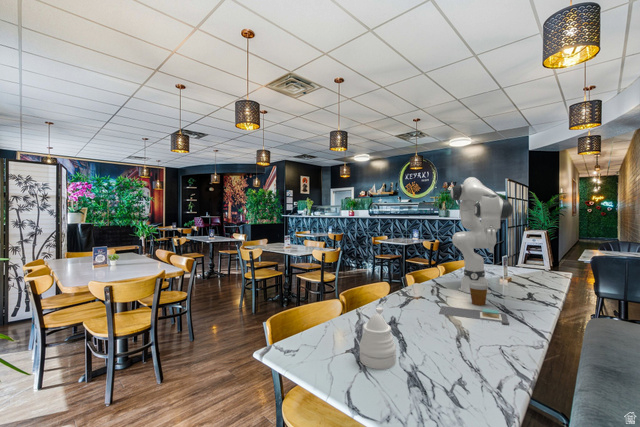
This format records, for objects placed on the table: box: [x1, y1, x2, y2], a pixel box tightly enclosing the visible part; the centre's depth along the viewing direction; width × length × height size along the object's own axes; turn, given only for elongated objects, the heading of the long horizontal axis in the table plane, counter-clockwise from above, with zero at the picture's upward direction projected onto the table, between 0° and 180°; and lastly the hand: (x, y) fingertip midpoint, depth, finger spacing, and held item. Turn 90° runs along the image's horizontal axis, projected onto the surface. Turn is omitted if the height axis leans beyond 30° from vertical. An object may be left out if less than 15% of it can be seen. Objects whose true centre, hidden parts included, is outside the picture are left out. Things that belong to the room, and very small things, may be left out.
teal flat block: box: [481, 308, 500, 319], centre depth 146 cm, size 7×5×2 cm
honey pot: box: [359, 306, 397, 370], centre depth 108 cm, size 13×13×18 cm
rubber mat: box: [438, 305, 510, 326], centre depth 150 cm, size 14×30×1 cm, turn 63°
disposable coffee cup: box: [469, 282, 489, 307], centre depth 165 cm, size 10×10×12 cm
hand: (490, 251), depth 157 cm, fingers open, 8 cm apart
